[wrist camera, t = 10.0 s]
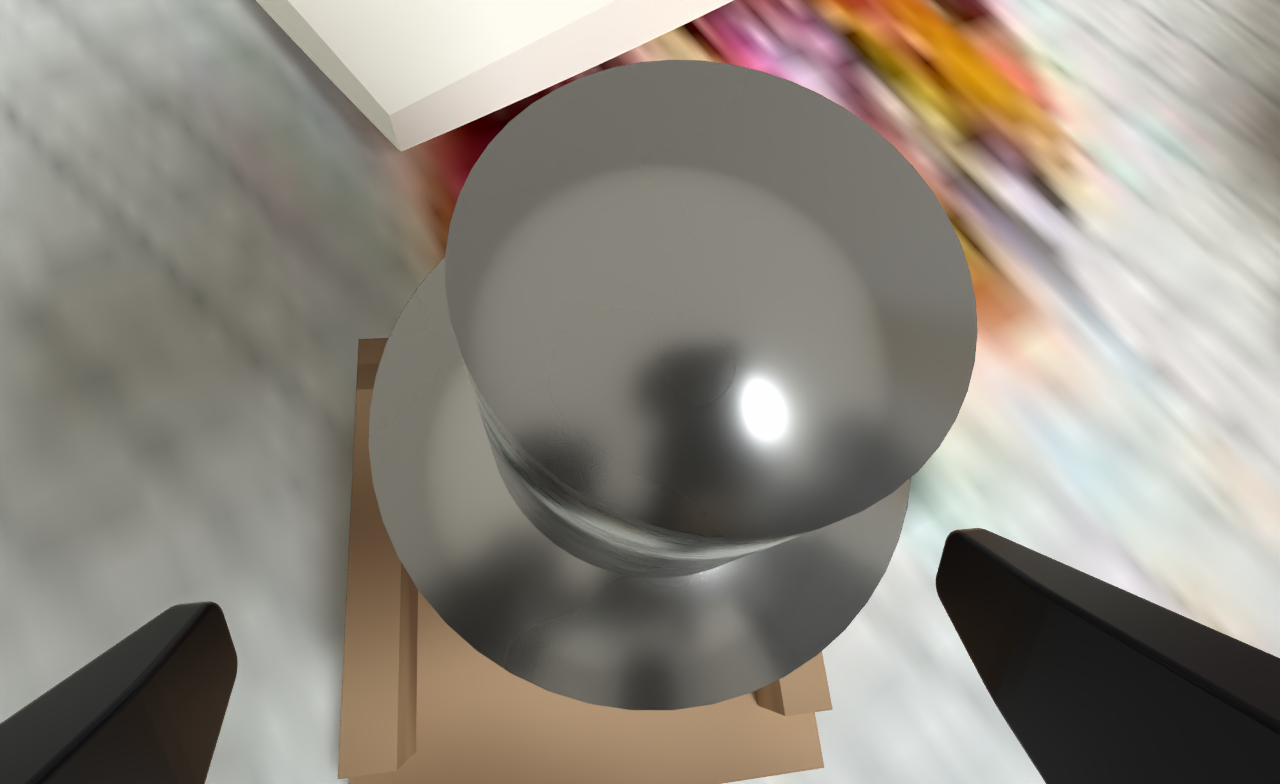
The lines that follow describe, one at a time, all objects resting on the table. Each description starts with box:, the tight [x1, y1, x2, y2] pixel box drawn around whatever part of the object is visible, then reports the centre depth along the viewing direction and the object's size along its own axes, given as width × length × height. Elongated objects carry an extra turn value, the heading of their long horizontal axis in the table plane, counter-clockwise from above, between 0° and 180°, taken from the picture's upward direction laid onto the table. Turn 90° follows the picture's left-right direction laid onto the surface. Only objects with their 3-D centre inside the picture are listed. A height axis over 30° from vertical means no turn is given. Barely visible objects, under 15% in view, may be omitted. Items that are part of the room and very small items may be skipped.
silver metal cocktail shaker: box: [369, 60, 977, 710], centre depth 9 cm, size 4×4×13 cm
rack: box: [338, 338, 832, 784], centre depth 15 cm, size 10×10×3 cm
